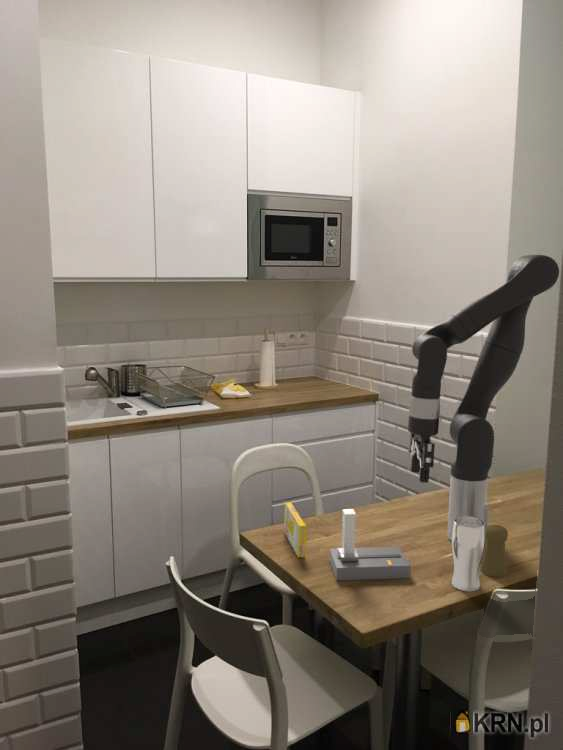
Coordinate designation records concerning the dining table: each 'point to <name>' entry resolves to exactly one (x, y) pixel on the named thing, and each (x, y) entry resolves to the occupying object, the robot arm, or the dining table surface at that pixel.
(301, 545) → the candy box
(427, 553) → the dining table surface
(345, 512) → the slider tab
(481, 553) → the beer glass
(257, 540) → the dining table surface
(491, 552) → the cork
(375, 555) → the fader console
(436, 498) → the dining table surface
